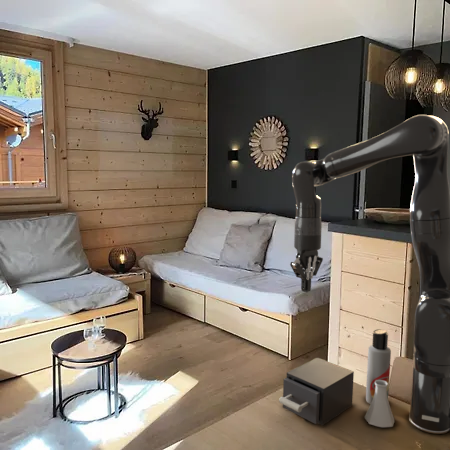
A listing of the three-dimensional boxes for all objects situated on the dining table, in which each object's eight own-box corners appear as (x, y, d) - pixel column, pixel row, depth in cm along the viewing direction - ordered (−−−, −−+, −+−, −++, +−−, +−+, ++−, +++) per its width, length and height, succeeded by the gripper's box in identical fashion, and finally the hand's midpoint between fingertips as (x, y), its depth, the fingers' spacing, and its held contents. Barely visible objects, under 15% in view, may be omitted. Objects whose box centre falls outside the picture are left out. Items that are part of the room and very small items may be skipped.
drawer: (305, 431, 107) (306, 400, 106) (271, 413, 114) (272, 384, 113) (344, 405, 118) (345, 377, 117) (311, 390, 126) (312, 364, 125)
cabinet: (322, 425, 111) (323, 388, 109) (285, 406, 119) (286, 372, 118) (352, 405, 120) (353, 371, 119) (316, 389, 128) (317, 357, 127)
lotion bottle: (388, 408, 119) (392, 335, 116) (365, 405, 120) (369, 333, 117) (387, 397, 124) (391, 328, 121) (365, 394, 126) (369, 325, 123)
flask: (397, 430, 109) (399, 391, 108) (365, 426, 110) (367, 388, 109) (392, 414, 116) (394, 377, 115) (362, 410, 117) (364, 374, 116)
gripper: (304, 236, 121) (302, 299, 123) (332, 231, 130) (330, 289, 132) (282, 233, 126) (281, 293, 129) (310, 228, 135) (309, 284, 138)
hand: (306, 291), depth 131 cm, fingers closed
